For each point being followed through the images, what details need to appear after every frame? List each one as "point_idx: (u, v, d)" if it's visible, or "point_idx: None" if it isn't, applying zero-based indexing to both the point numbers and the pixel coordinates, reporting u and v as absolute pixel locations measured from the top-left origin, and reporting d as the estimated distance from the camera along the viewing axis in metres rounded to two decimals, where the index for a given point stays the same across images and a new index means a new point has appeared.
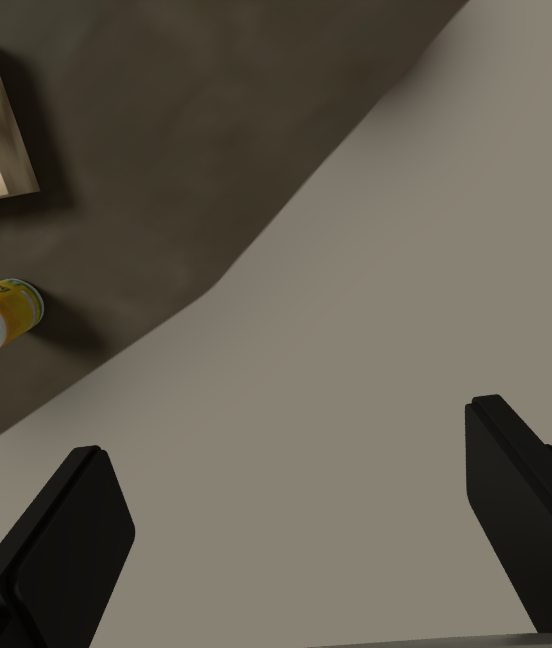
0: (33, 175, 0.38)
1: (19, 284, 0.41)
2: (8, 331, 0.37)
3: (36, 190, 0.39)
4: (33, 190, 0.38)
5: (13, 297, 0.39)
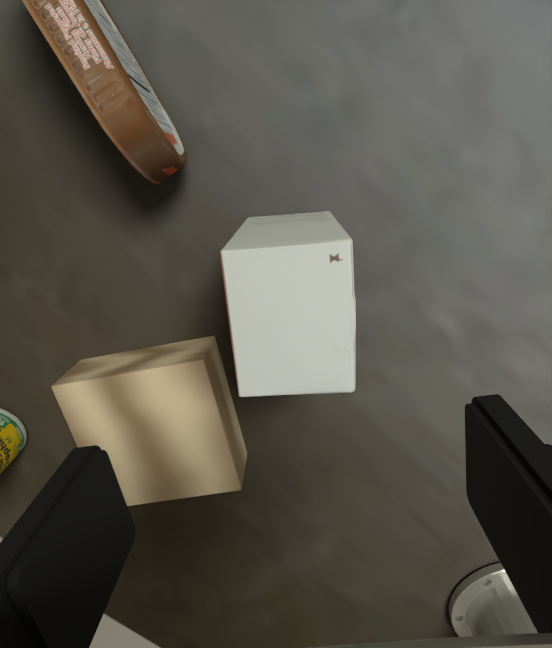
0: None
1: (20, 450, 0.38)
2: None
3: None
4: None
5: None
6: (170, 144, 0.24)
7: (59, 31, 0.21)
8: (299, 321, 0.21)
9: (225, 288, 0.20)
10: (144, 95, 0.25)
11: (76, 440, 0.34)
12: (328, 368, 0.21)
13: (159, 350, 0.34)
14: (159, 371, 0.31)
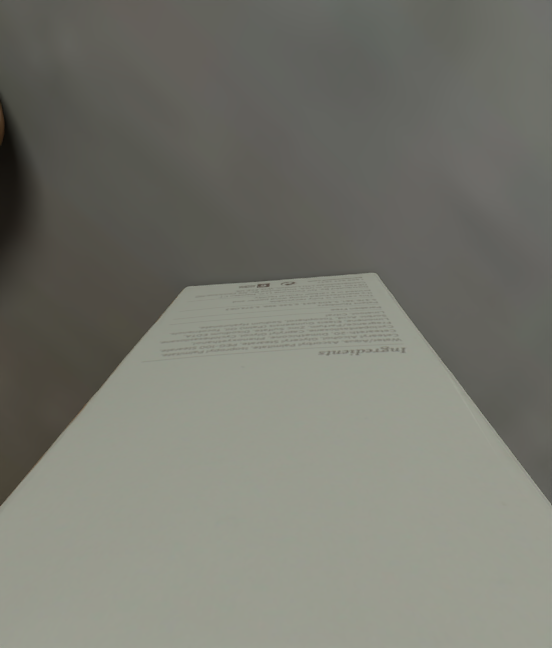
0: None
1: None
2: None
3: None
4: None
5: None
6: None
7: None
8: None
9: None
10: None
11: None
12: None
13: None
14: None
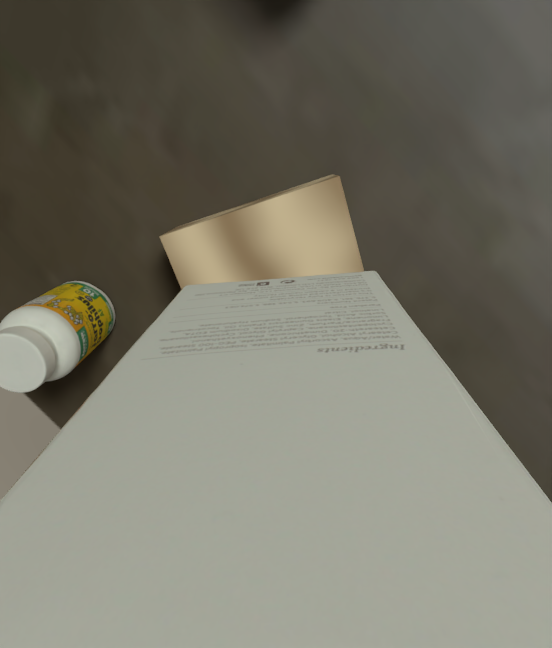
0: None
1: (109, 331, 0.34)
2: None
3: None
4: None
5: (89, 353, 0.32)
6: None
7: None
8: None
9: None
10: None
11: None
12: None
13: (272, 195, 0.30)
14: (286, 199, 0.26)
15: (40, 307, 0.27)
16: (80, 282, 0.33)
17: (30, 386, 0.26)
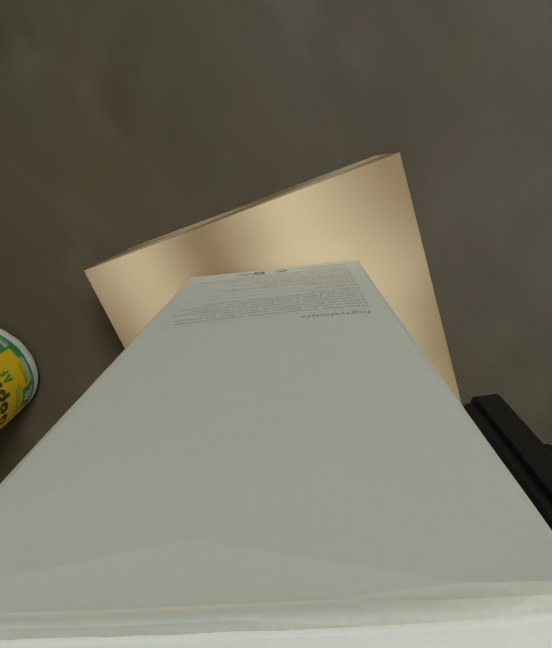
0: None
1: (26, 399, 0.22)
2: None
3: None
4: None
5: None
6: None
7: None
8: None
9: None
10: None
11: None
12: None
13: (276, 193, 0.18)
14: (303, 198, 0.15)
15: None
16: None
17: None
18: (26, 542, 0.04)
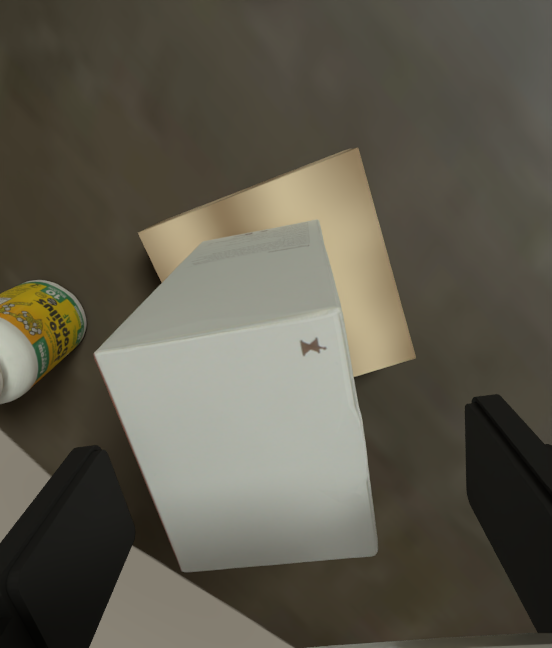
0: None
1: (78, 340, 0.28)
2: None
3: None
4: None
5: (52, 368, 0.26)
6: None
7: None
8: (261, 458, 0.11)
9: (118, 414, 0.11)
10: None
11: None
12: (327, 525, 0.12)
13: (273, 178, 0.24)
14: (292, 179, 0.21)
15: None
16: (43, 281, 0.27)
17: None
18: (144, 329, 0.11)
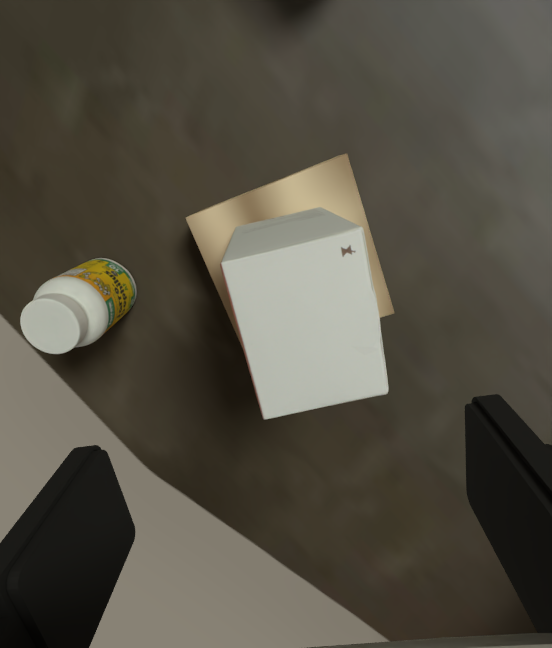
0: None
1: (131, 305, 0.36)
2: None
3: None
4: None
5: None
6: None
7: None
8: (318, 326, 0.19)
9: (231, 303, 0.18)
10: None
11: (214, 280, 0.32)
12: (357, 372, 0.19)
13: (285, 177, 0.32)
14: (299, 177, 0.29)
15: (73, 277, 0.30)
16: (105, 259, 0.35)
17: (64, 348, 0.28)
18: (244, 251, 0.18)
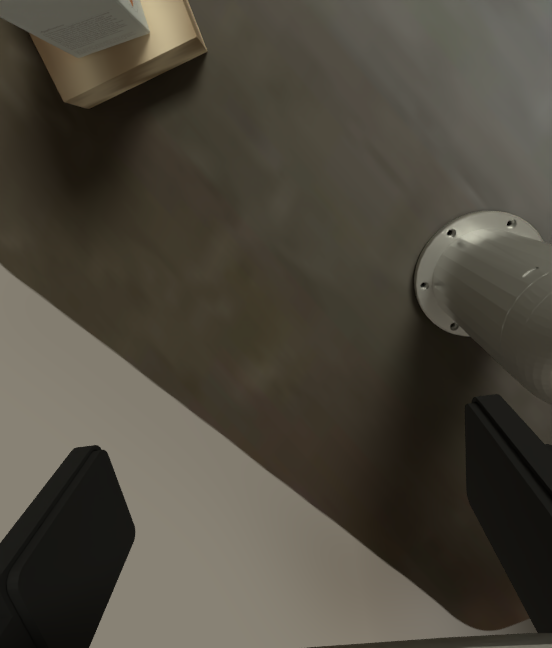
0: (101, 102, 0.38)
1: None
2: None
3: (87, 108, 0.38)
4: (85, 107, 0.38)
5: None
6: None
7: None
8: None
9: None
10: None
11: None
12: None
13: None
14: None
15: None
16: None
17: None
18: None
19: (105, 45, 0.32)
